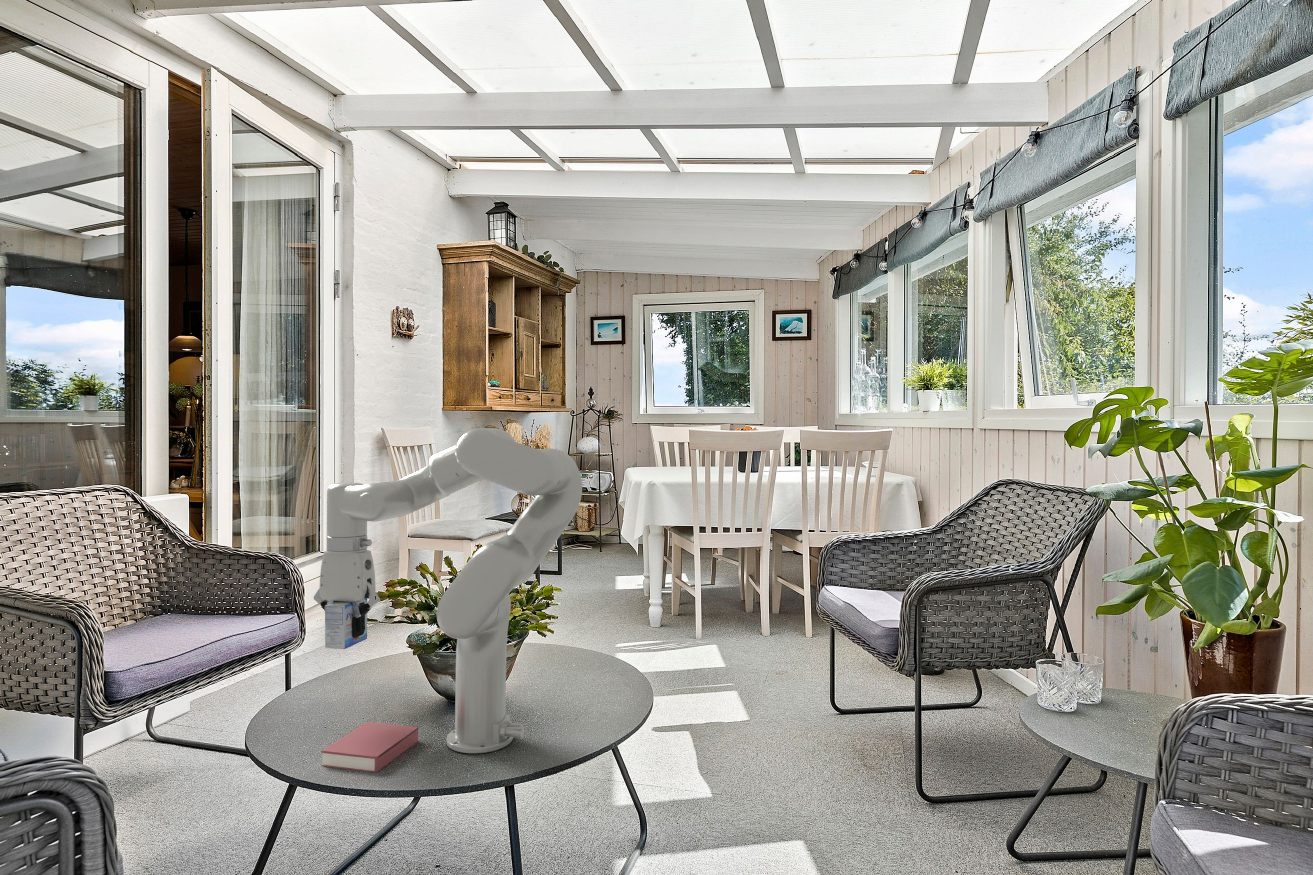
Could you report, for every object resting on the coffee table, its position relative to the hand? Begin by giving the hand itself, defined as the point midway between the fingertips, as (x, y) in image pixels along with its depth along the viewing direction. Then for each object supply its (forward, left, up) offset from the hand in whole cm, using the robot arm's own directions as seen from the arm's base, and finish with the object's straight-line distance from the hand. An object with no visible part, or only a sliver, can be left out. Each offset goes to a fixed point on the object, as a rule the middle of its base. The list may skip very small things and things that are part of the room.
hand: (346, 634), depth 151 cm
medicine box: (0, 0, -2) cm, 2 cm away
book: (-12, +9, -19) cm, 24 cm away
